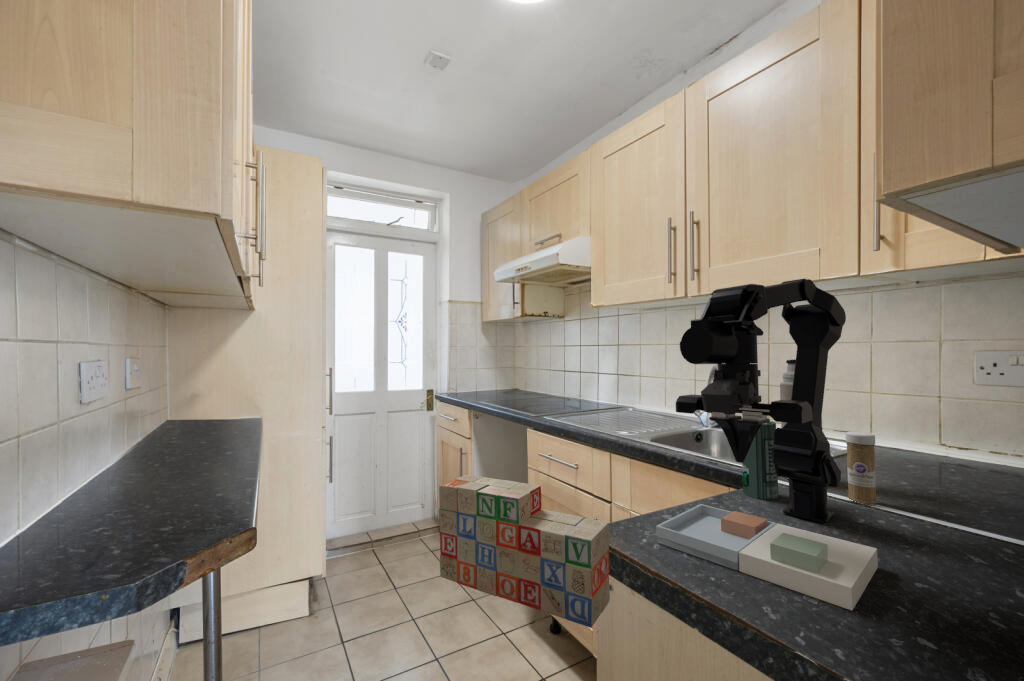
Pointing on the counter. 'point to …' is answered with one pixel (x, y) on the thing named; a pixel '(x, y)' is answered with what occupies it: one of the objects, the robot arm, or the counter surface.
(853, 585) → the board
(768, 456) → the can
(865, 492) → the sprinkles bottle
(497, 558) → the stack of blocks
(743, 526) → the tile terracotta
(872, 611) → the counter surface
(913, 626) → the counter surface
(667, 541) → the box
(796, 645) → the counter surface
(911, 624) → the counter surface
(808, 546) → the tile sage
